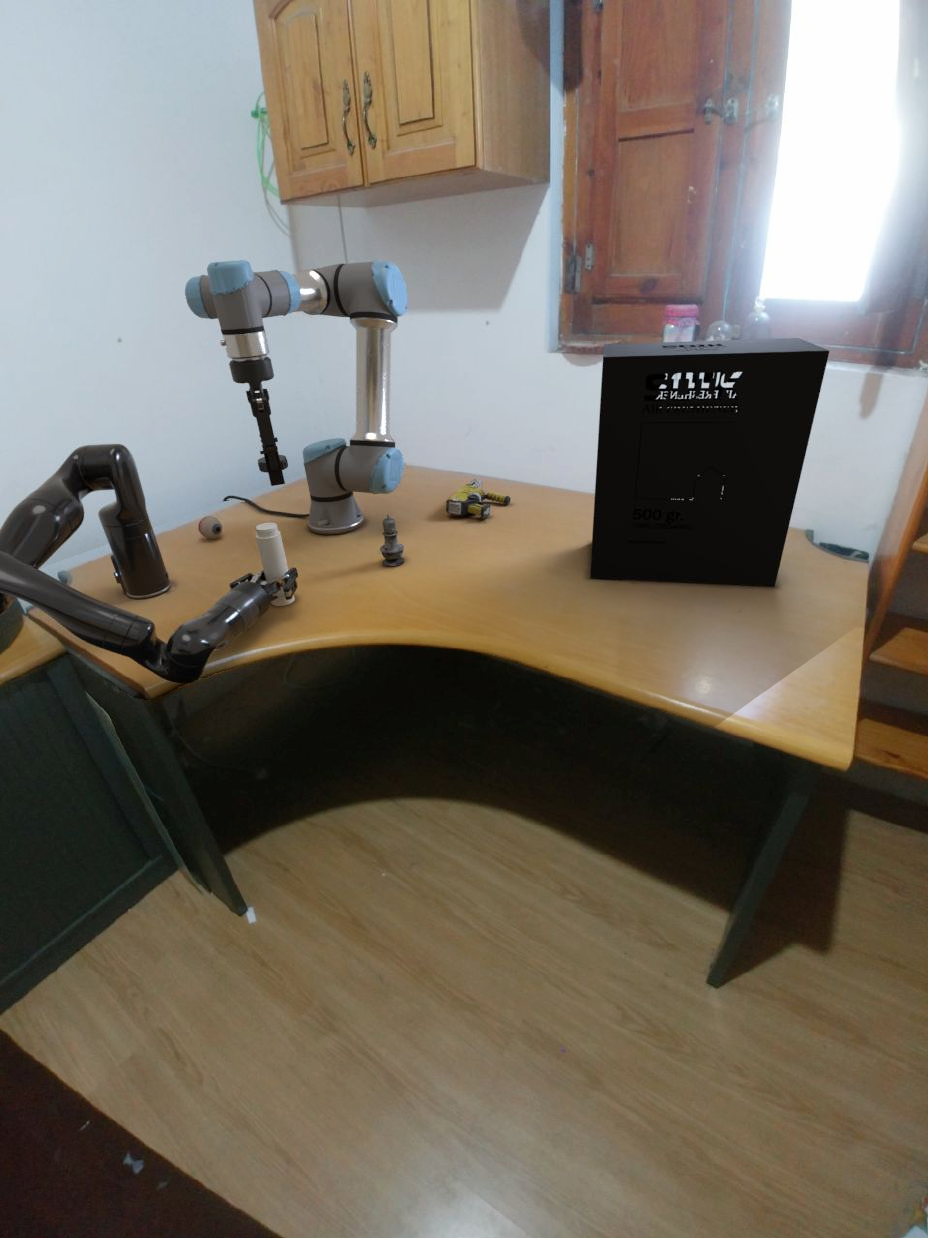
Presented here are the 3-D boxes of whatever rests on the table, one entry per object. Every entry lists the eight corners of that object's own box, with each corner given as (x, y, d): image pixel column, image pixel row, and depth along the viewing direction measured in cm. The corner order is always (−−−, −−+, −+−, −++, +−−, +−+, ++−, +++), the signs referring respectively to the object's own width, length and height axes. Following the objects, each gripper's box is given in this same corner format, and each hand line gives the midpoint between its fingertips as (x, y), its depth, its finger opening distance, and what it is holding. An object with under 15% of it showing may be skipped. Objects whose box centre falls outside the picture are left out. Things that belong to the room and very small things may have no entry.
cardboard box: (755, 547, 142) (798, 337, 120) (774, 586, 125) (829, 350, 102) (592, 542, 150) (603, 344, 127) (589, 578, 133) (603, 356, 110)
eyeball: (211, 543, 162) (206, 522, 159) (197, 539, 165) (190, 519, 162) (230, 535, 166) (224, 515, 163) (215, 532, 169) (209, 511, 166)
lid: (290, 463, 124) (288, 453, 123) (285, 471, 120) (283, 461, 119) (263, 465, 124) (261, 455, 123) (256, 473, 119) (254, 463, 118)
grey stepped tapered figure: (401, 567, 143) (396, 519, 137) (378, 566, 144) (371, 518, 138) (408, 556, 148) (403, 510, 142) (385, 556, 149) (379, 509, 143)
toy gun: (518, 484, 183) (472, 477, 187) (496, 507, 163) (444, 499, 167) (517, 499, 185) (471, 492, 189) (494, 524, 165) (443, 515, 169)
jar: (284, 607, 128) (267, 531, 120) (266, 604, 130) (248, 528, 121) (299, 597, 132) (283, 523, 123) (281, 594, 134) (264, 520, 125)
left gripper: (213, 622, 120) (258, 583, 134) (277, 628, 116) (317, 588, 131) (203, 588, 116) (250, 552, 130) (269, 593, 113) (310, 556, 127)
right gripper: (227, 354, 118) (255, 470, 130) (228, 366, 103) (260, 496, 115) (266, 350, 120) (291, 465, 132) (273, 361, 105) (300, 490, 117)
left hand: (283, 570), depth 130 cm, fingers closed on jar, 5 cm apart
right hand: (276, 479), depth 123 cm, fingers closed on lid, 5 cm apart
